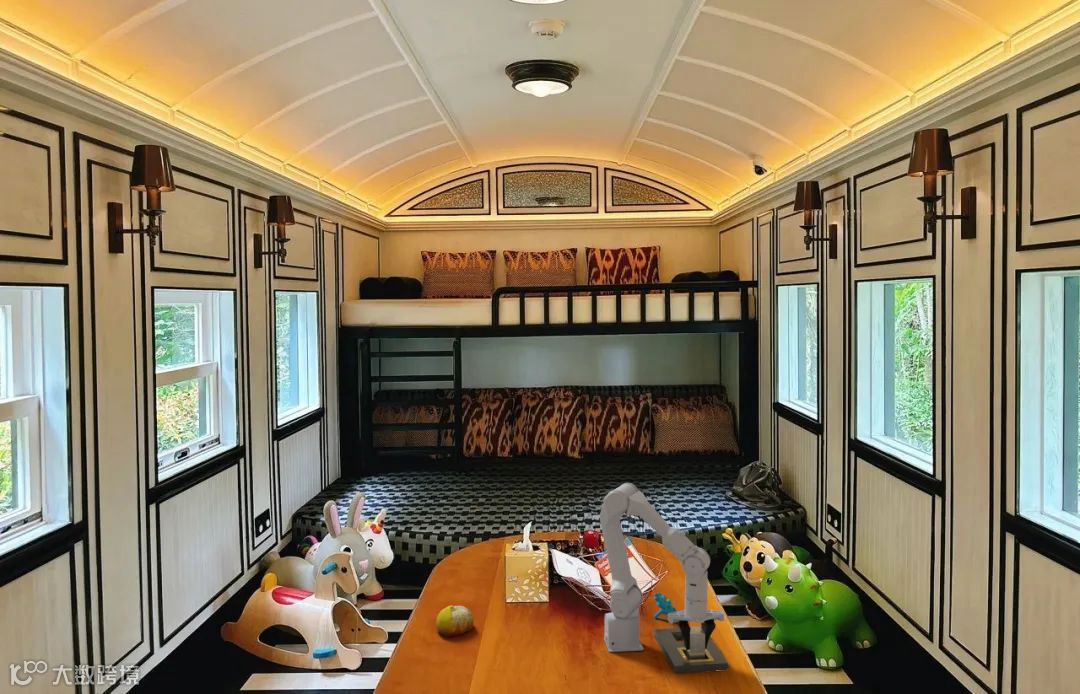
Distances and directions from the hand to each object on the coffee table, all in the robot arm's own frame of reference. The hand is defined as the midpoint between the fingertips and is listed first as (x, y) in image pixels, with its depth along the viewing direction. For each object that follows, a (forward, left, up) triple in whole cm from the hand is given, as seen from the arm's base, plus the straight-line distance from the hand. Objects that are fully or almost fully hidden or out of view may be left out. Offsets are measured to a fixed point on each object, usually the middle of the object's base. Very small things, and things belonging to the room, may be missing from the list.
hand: (695, 647), depth 183 cm
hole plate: (0, +5, -4) cm, 6 cm away
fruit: (-63, +25, -4) cm, 68 cm away
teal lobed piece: (0, +25, -4) cm, 26 cm away
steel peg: (0, 0, -3) cm, 4 cm away
